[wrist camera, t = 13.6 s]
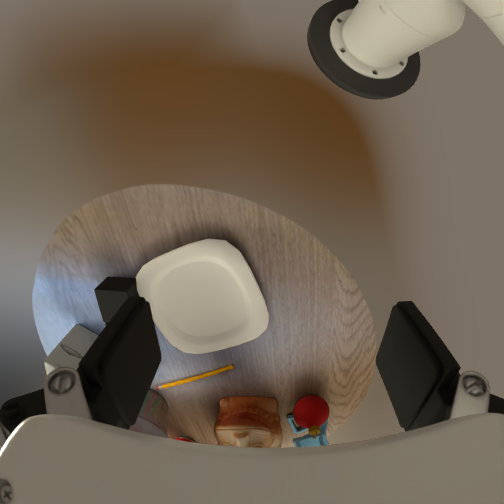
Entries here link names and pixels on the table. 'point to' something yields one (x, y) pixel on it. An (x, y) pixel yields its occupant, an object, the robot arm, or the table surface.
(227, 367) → the pencil
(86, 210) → the table surface
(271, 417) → the ceramic vessel
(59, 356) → the white packaging box
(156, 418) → the potted plant
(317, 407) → the christmas ornament
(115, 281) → the black rectangular block
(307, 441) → the chair
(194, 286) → the plate
